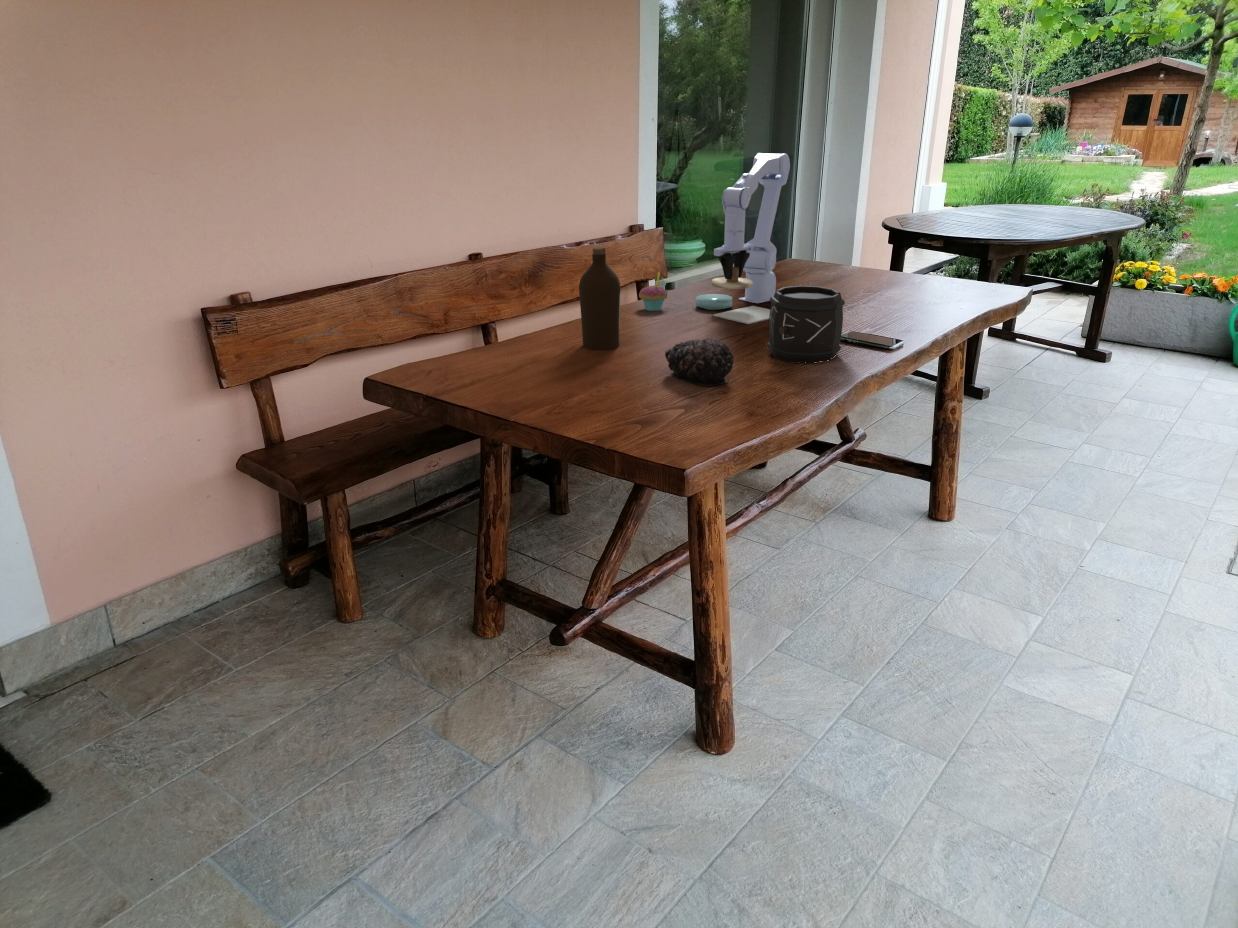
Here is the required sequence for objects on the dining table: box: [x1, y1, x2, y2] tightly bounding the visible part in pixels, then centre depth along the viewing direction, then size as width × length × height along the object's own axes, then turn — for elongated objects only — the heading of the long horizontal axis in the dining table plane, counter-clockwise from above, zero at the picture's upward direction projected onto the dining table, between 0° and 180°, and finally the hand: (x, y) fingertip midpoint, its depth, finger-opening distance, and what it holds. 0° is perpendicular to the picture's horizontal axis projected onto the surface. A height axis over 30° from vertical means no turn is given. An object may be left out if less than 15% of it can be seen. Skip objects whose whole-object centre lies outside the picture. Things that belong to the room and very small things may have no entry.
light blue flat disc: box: [695, 293, 733, 311], centre depth 270 cm, size 11×11×3 cm
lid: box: [711, 265, 753, 290], centre depth 261 cm, size 12×12×5 cm
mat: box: [712, 305, 771, 325], centre depth 260 cm, size 17×14×1 cm
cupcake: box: [638, 269, 668, 312], centre depth 267 cm, size 9×8×12 cm
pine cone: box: [664, 337, 734, 387], centre depth 202 cm, size 10×18×10 cm, turn 53°
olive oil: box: [578, 246, 622, 351], centre depth 226 cm, size 11×11×25 cm
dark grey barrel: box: [766, 285, 846, 364], centre depth 217 cm, size 18×18×16 cm
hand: (732, 278), depth 261 cm, fingers closed on lid, 3 cm apart
